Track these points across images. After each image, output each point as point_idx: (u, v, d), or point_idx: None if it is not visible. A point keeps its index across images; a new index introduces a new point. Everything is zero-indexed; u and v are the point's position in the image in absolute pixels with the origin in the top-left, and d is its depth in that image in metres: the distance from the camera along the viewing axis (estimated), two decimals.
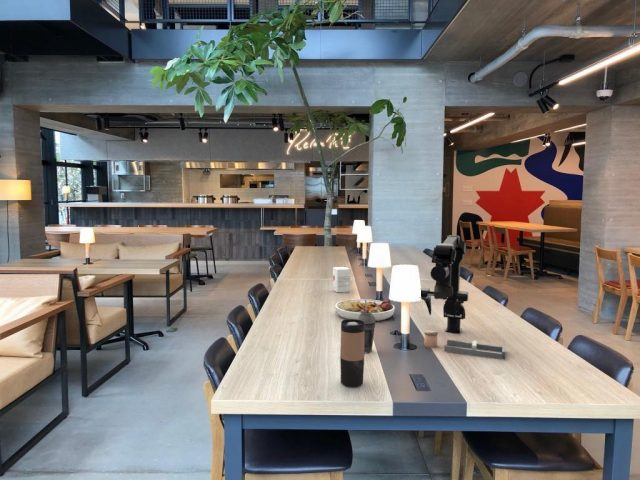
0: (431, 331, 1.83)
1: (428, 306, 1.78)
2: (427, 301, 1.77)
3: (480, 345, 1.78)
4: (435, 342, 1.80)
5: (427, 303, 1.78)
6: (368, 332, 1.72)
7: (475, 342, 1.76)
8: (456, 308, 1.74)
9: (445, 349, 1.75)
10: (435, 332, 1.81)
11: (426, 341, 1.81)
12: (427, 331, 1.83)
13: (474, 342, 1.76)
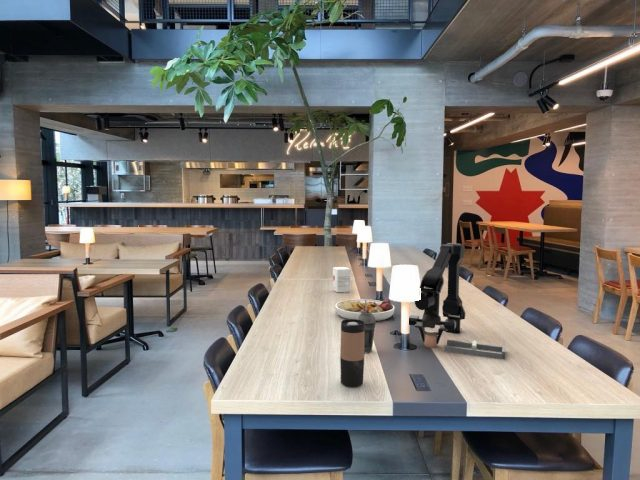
0: (431, 331, 1.83)
1: (422, 334, 1.82)
2: (421, 329, 1.81)
3: (480, 345, 1.78)
4: (435, 342, 1.80)
5: (421, 331, 1.82)
6: (368, 332, 1.72)
7: (475, 342, 1.76)
8: (439, 335, 1.79)
9: (445, 349, 1.75)
10: (435, 332, 1.81)
11: (426, 341, 1.81)
12: (427, 331, 1.83)
13: (474, 342, 1.76)
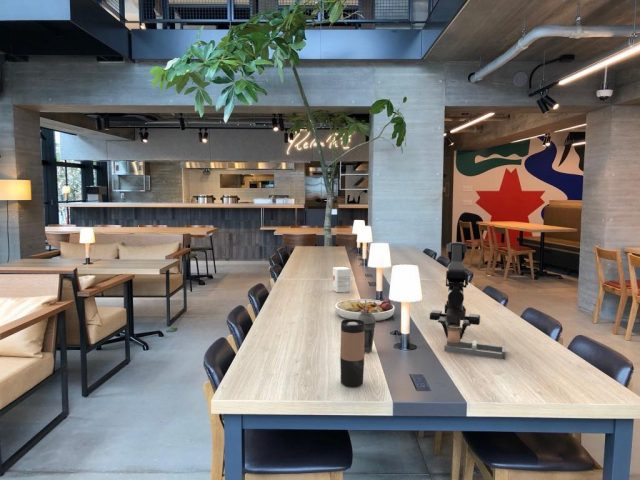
0: (454, 326, 1.79)
1: (445, 329, 1.78)
2: (444, 324, 1.78)
3: (480, 345, 1.78)
4: (459, 337, 1.76)
5: (444, 326, 1.78)
6: (368, 332, 1.72)
7: (475, 342, 1.76)
8: (463, 330, 1.76)
9: (445, 349, 1.75)
10: (458, 327, 1.78)
11: (449, 336, 1.77)
12: (450, 326, 1.79)
13: (474, 342, 1.76)
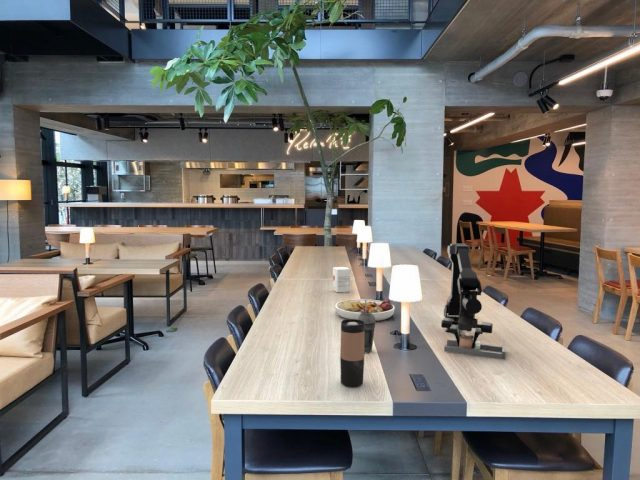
0: (466, 334, 1.77)
1: (457, 337, 1.77)
2: (456, 332, 1.76)
3: None
4: (471, 345, 1.75)
5: (456, 334, 1.77)
6: (368, 332, 1.72)
7: (479, 342, 1.76)
8: (475, 339, 1.74)
9: (445, 349, 1.75)
10: (470, 335, 1.76)
11: (461, 344, 1.75)
12: (462, 334, 1.77)
13: (478, 342, 1.76)
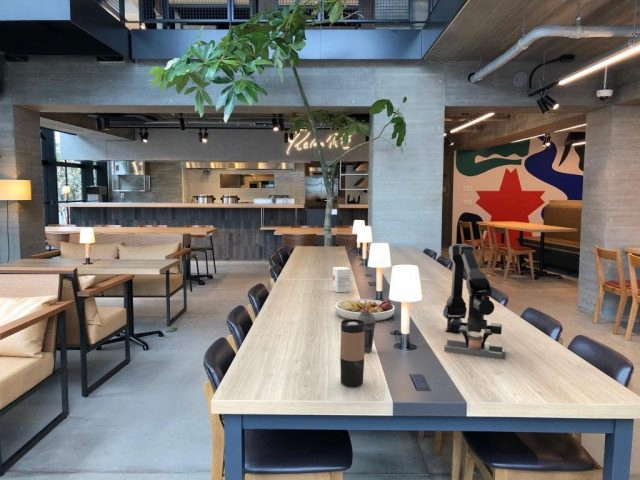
0: (475, 335, 1.76)
1: (466, 338, 1.75)
2: (465, 333, 1.75)
3: None
4: (480, 347, 1.73)
5: (465, 335, 1.75)
6: (368, 332, 1.72)
7: (488, 344, 1.74)
8: (484, 340, 1.73)
9: (445, 349, 1.75)
10: (480, 336, 1.75)
11: (470, 346, 1.74)
12: (471, 335, 1.76)
13: (487, 344, 1.74)
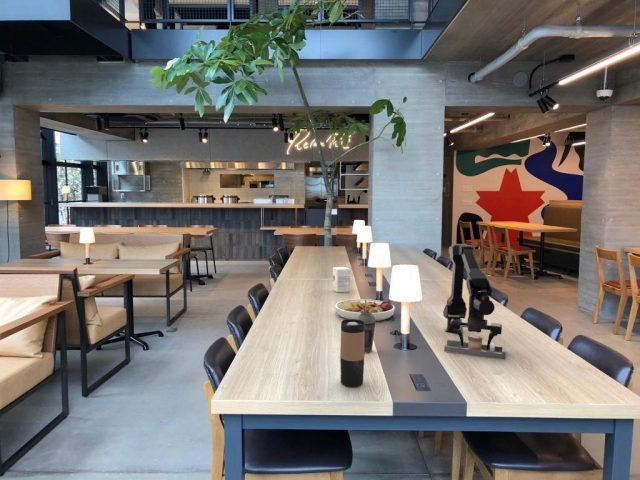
0: (475, 336, 1.76)
1: (461, 337, 1.76)
2: (460, 333, 1.75)
3: None
4: (480, 348, 1.73)
5: (460, 334, 1.76)
6: (368, 332, 1.72)
7: (493, 344, 1.74)
8: (489, 340, 1.72)
9: (445, 349, 1.75)
10: (479, 338, 1.75)
11: (470, 347, 1.74)
12: (471, 336, 1.76)
13: (492, 344, 1.74)
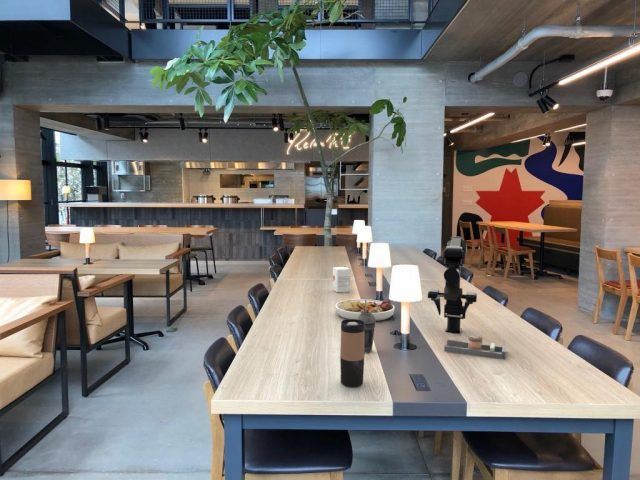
0: (475, 336, 1.76)
1: (438, 307, 1.83)
2: (437, 302, 1.82)
3: None
4: (480, 348, 1.73)
5: (437, 304, 1.83)
6: (368, 332, 1.72)
7: (493, 344, 1.74)
8: (465, 309, 1.79)
9: (445, 349, 1.75)
10: (479, 338, 1.75)
11: (470, 347, 1.74)
12: (471, 336, 1.76)
13: (492, 344, 1.74)
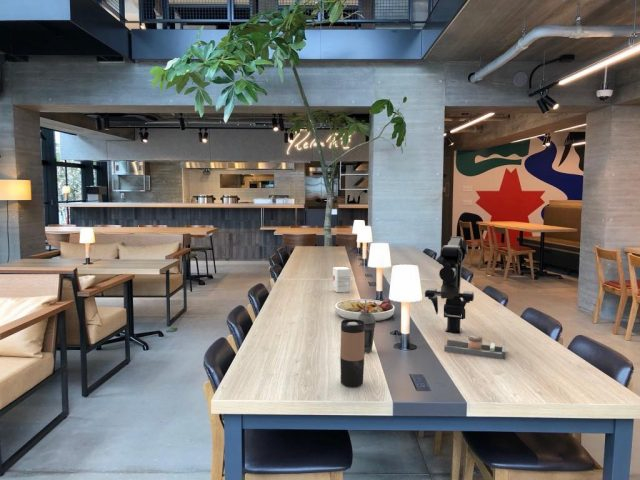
0: (475, 336, 1.76)
1: (435, 306, 1.84)
2: (434, 301, 1.83)
3: None
4: (480, 348, 1.73)
5: (434, 303, 1.84)
6: (368, 332, 1.72)
7: (493, 344, 1.74)
8: (462, 308, 1.80)
9: (445, 349, 1.75)
10: (479, 338, 1.75)
11: (470, 347, 1.74)
12: (471, 336, 1.76)
13: (492, 344, 1.74)
